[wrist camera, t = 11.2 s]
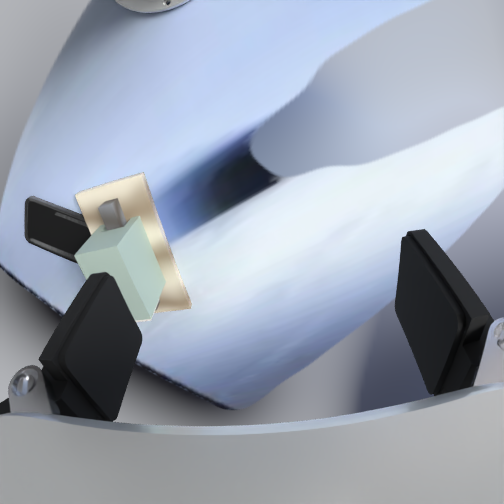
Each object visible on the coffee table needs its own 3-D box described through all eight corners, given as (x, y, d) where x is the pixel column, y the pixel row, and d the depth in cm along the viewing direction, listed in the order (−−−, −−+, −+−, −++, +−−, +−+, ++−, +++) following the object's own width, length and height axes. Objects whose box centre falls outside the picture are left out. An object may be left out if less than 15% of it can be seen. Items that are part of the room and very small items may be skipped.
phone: (105, 274, 43) (24, 240, 41) (108, 270, 44) (28, 237, 42) (113, 228, 39) (25, 195, 37) (116, 225, 40) (29, 192, 38)
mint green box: (100, 225, 39) (74, 255, 32) (139, 215, 38) (116, 246, 32) (132, 295, 44) (115, 330, 38) (169, 289, 44) (155, 327, 37)
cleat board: (78, 192, 38) (67, 200, 35) (143, 172, 36) (134, 180, 34) (132, 311, 47) (126, 324, 45) (191, 304, 46) (188, 318, 44)
